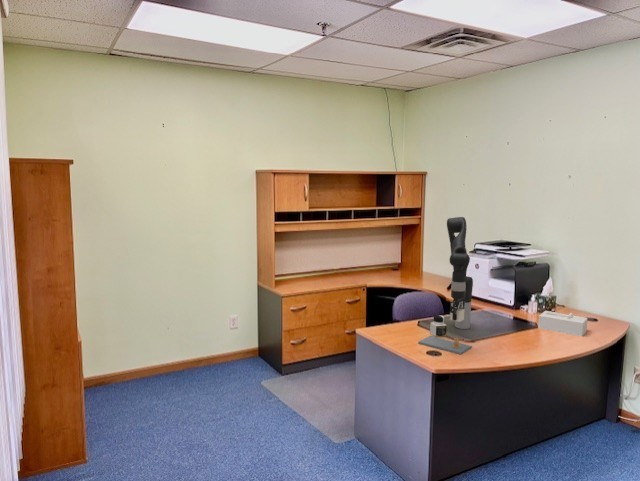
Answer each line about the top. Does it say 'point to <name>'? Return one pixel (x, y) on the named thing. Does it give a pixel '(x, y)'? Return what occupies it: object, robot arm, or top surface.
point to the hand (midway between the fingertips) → (457, 318)
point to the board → (446, 344)
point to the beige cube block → (458, 315)
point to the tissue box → (563, 323)
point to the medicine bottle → (438, 326)
